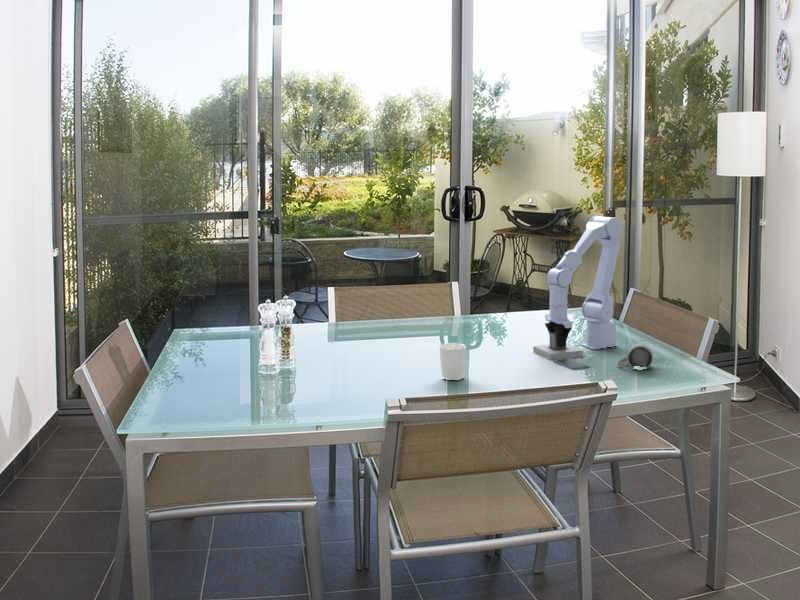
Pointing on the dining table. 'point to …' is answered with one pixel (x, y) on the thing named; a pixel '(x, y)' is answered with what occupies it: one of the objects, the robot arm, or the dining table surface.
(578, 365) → the phone
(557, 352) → the outlet plate
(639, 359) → the ceramic mug
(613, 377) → the dining table surface
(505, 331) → the dining table surface
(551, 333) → the block
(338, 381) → the dining table surface
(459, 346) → the white cup
